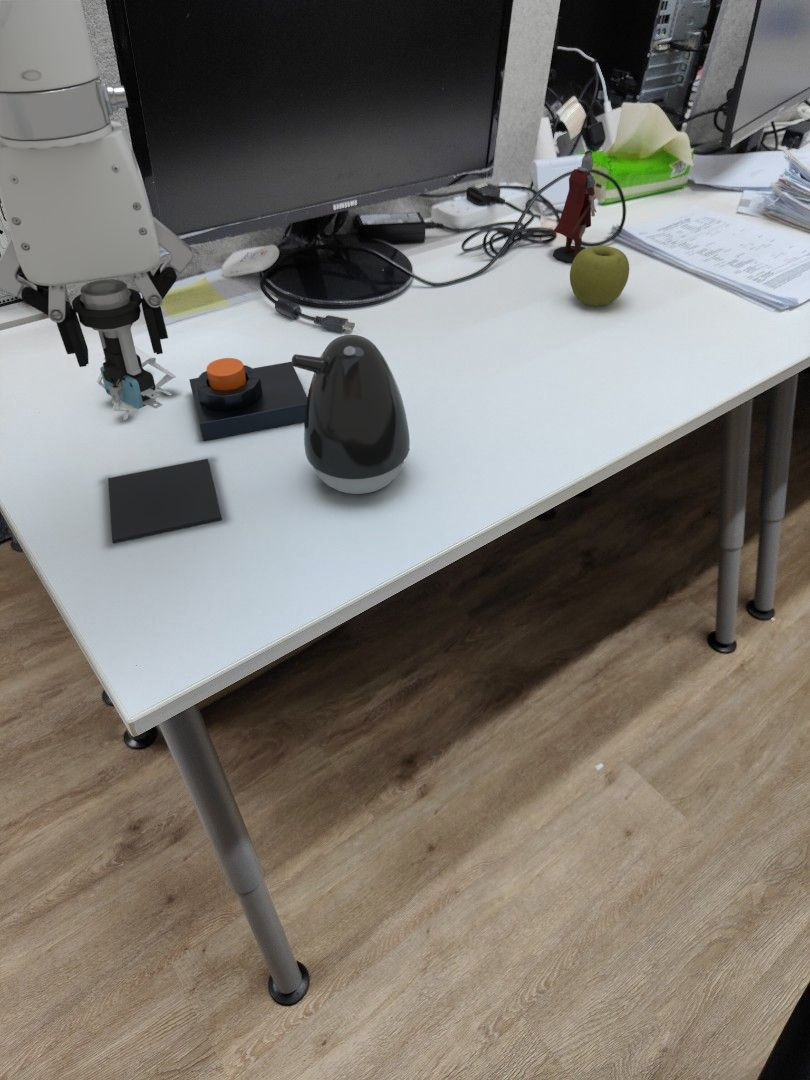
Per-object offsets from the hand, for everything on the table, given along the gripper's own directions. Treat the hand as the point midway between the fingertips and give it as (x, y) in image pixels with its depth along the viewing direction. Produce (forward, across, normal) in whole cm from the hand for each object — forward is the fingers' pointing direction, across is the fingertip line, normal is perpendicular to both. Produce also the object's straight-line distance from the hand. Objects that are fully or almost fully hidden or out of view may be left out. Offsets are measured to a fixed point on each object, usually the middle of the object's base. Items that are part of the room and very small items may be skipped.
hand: (120, 351), depth 64 cm
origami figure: (+16, +1, -22) cm, 27 cm away
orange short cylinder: (+12, -9, -14) cm, 21 cm away
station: (+16, -11, -14) cm, 24 cm away
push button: (+5, 0, 0) cm, 5 cm away
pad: (+16, 0, 0) cm, 16 cm away
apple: (+16, -61, -25) cm, 68 cm away
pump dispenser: (+16, -19, +3) cm, 25 cm away
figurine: (+16, -66, -41) cm, 79 cm away
